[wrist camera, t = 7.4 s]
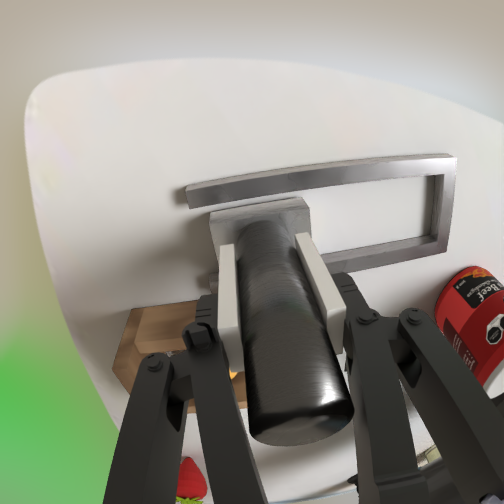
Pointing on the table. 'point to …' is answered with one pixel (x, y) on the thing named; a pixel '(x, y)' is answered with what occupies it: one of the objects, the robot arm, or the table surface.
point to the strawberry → (190, 483)
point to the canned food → (475, 324)
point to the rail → (339, 175)
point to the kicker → (282, 327)
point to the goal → (160, 343)
